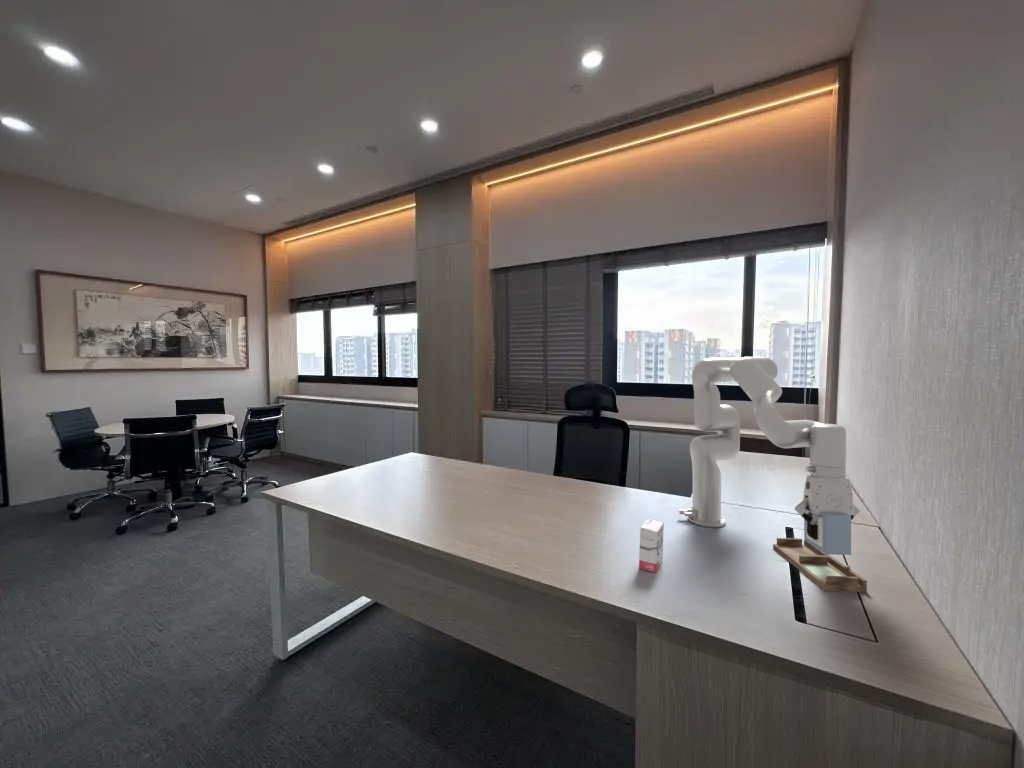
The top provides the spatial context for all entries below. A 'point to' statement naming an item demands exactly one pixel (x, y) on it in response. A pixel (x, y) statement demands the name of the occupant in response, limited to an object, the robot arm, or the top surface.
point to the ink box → (651, 545)
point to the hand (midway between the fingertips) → (826, 537)
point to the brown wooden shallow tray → (820, 566)
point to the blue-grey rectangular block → (831, 534)
